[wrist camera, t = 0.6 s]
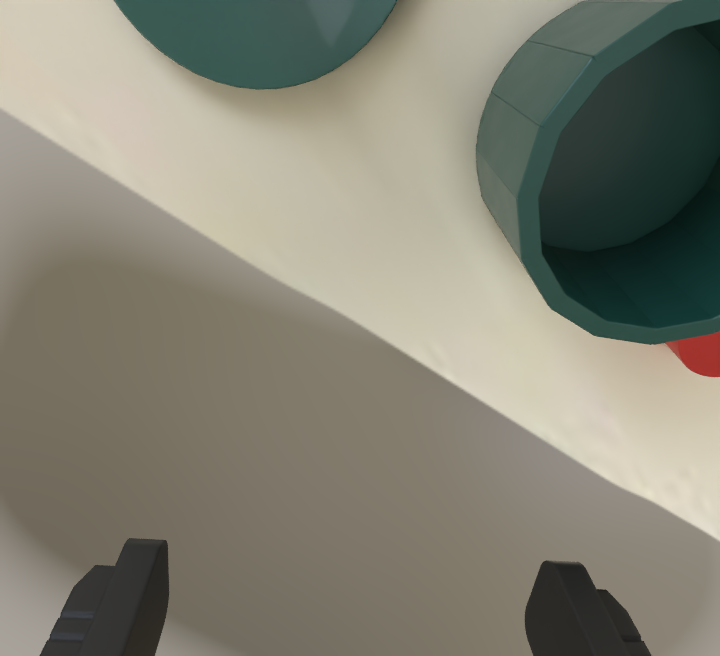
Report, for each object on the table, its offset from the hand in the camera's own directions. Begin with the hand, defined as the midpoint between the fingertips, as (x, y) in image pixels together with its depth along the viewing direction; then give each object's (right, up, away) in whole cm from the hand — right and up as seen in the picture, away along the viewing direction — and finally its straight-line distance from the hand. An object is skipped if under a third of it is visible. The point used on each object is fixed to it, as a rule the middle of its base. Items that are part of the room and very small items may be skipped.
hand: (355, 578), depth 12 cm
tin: (+12, +14, +15) cm, 24 cm away
